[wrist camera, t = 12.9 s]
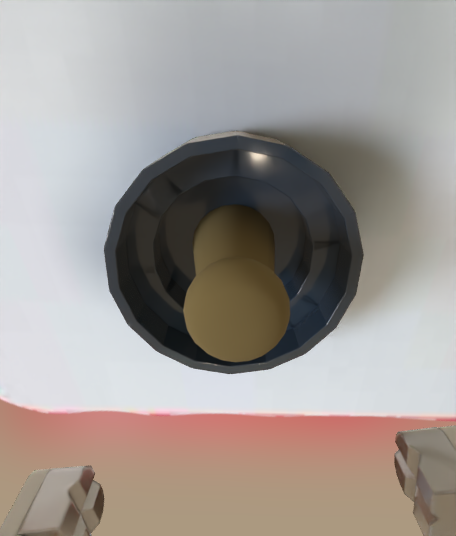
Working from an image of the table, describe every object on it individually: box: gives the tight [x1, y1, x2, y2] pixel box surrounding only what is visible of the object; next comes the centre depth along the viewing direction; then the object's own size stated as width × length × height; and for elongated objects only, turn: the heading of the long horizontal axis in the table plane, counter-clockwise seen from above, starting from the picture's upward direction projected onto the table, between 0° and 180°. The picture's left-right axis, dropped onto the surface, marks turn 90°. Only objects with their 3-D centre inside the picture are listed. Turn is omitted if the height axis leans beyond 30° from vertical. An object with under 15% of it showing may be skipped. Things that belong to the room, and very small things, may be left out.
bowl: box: [104, 131, 363, 374], centre depth 24 cm, size 15×16×6 cm
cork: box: [183, 204, 290, 362], centre depth 21 cm, size 6×6×11 cm
